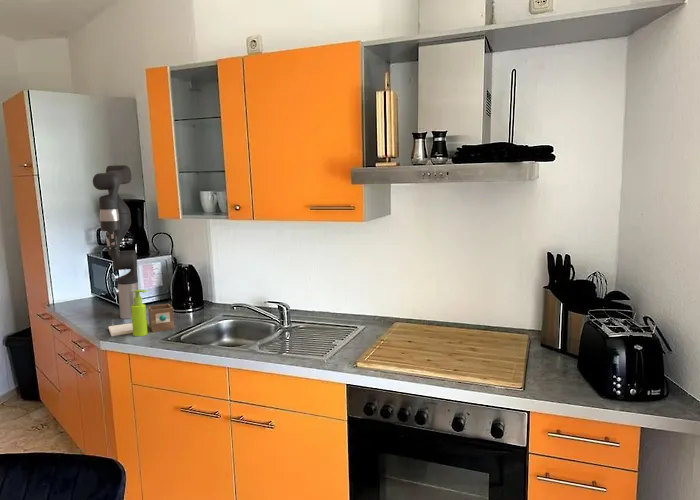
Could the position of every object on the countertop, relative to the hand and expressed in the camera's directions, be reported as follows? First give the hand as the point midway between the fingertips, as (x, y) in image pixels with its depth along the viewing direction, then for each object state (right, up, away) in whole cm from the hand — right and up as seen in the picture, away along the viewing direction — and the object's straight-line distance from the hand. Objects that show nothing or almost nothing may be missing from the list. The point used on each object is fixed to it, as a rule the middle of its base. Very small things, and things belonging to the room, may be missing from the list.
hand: (112, 256), depth 220 cm
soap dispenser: (+13, -35, -1) cm, 37 cm away
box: (+19, -33, +8) cm, 39 cm away
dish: (+3, -34, +6) cm, 34 cm away
